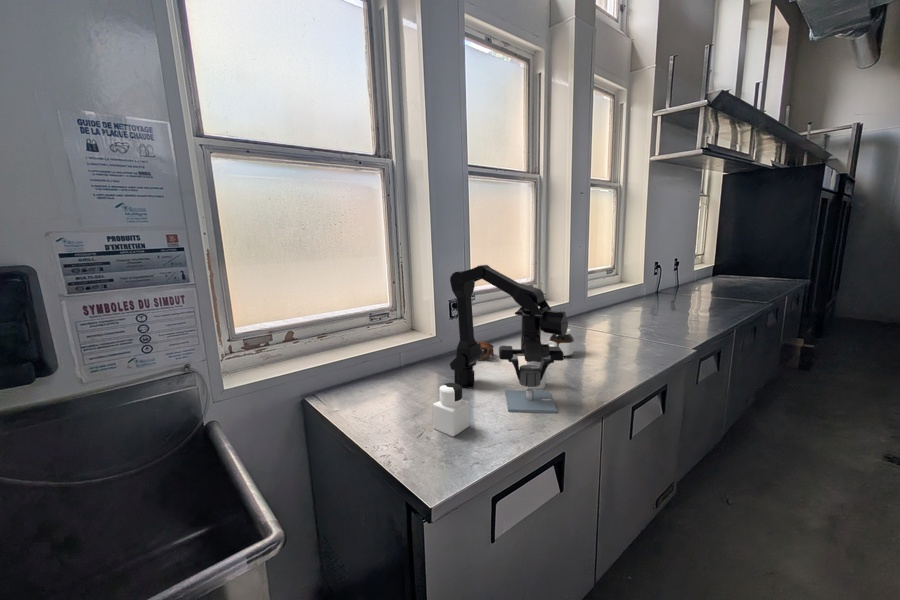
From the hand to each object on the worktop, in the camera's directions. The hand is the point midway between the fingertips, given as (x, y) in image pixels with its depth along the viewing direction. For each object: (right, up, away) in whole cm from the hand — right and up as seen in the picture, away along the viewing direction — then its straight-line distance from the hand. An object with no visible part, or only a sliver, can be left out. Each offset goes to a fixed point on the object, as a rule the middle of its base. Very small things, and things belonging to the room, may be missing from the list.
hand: (529, 379), depth 113 cm
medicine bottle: (-24, -10, -14) cm, 30 cm away
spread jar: (+22, 0, +45) cm, 50 cm away
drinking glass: (+5, -5, +14) cm, 15 cm away
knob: (0, -1, 0) cm, 1 cm away
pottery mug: (-10, -1, +43) cm, 44 cm away
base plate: (0, -7, +1) cm, 7 cm away
